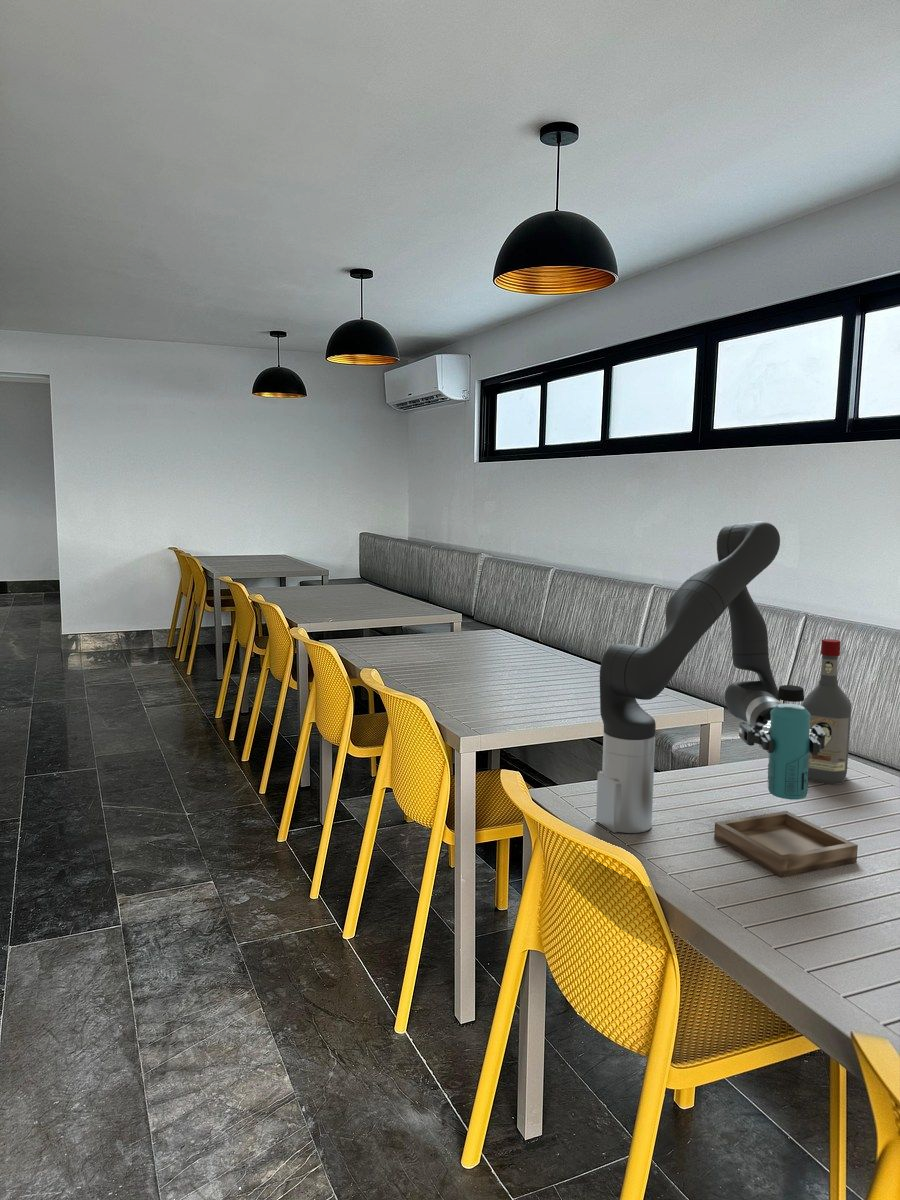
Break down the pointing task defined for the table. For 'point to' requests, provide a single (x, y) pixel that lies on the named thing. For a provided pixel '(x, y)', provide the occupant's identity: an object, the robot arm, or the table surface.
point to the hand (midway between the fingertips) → (793, 748)
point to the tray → (785, 843)
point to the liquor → (829, 719)
